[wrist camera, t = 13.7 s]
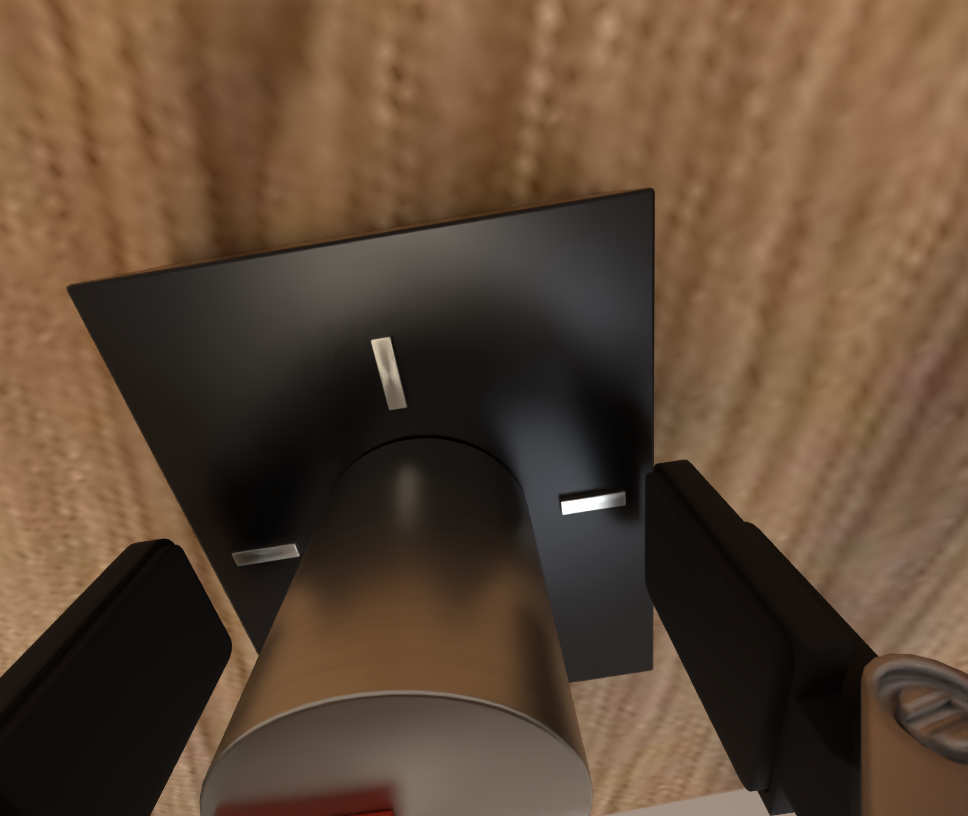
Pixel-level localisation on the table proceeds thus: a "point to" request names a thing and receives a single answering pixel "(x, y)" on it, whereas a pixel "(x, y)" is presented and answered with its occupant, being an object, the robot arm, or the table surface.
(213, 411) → the plate
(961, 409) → the table surface
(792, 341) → the table surface
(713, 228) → the table surface
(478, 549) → the volume knob
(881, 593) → the table surface
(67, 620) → the robot arm
